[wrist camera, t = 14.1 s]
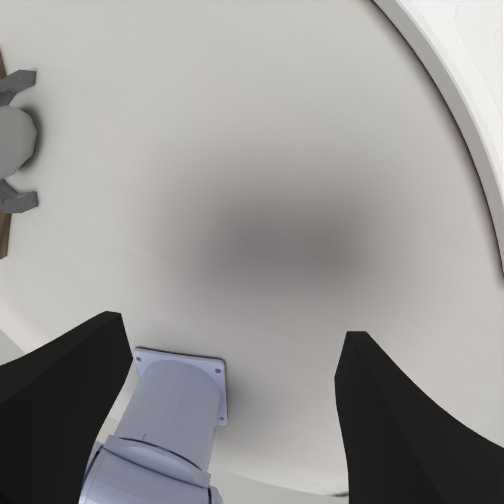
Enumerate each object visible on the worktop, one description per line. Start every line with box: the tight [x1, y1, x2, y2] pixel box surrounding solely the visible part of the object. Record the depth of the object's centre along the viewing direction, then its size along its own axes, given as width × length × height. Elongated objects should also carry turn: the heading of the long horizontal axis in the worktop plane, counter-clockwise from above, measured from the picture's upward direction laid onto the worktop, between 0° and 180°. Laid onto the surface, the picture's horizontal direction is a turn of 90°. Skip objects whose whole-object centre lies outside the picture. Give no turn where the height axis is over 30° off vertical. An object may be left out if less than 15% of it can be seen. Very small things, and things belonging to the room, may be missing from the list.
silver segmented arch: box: [0, 70, 38, 214], centre depth 16 cm, size 11×7×2 cm, turn 179°
